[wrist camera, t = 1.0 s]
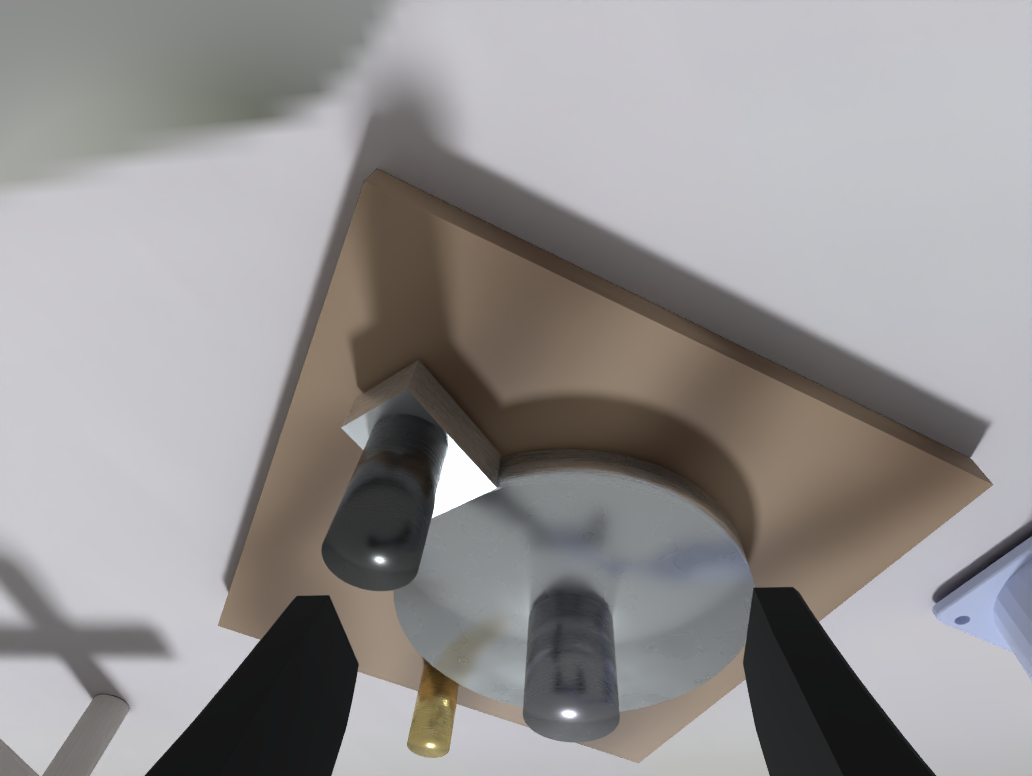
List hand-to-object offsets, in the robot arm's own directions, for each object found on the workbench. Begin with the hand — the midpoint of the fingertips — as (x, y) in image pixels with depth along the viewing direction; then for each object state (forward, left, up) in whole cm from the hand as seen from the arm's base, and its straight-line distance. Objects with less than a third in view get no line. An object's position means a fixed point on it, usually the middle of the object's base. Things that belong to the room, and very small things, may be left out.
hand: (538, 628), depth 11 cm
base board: (-4, +7, -9) cm, 13 cm away
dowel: (-3, +15, -8) cm, 17 cm away
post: (-5, +7, -6) cm, 11 cm away
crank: (-3, +6, -8) cm, 11 cm away
